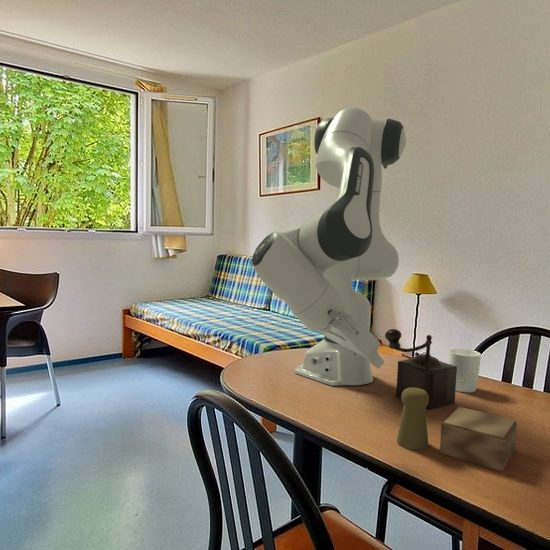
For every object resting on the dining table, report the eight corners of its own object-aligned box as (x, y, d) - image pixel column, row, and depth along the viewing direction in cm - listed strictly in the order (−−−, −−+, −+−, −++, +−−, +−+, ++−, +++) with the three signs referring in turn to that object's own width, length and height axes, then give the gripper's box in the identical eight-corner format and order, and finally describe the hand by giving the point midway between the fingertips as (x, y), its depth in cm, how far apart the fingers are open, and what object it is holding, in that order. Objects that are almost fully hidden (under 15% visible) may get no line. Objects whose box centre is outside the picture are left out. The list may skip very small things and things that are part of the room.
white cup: (459, 382, 134) (461, 347, 133) (484, 390, 127) (487, 354, 126) (441, 386, 130) (443, 350, 129) (466, 395, 123) (469, 357, 122)
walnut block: (439, 452, 90) (441, 422, 90) (456, 433, 99) (458, 405, 98) (502, 471, 84) (504, 438, 83) (514, 449, 92) (517, 419, 92)
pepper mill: (420, 389, 126) (424, 323, 125) (456, 403, 117) (460, 331, 115) (378, 399, 118) (381, 328, 117) (412, 414, 109) (416, 337, 107)
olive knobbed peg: (433, 450, 91) (437, 394, 90) (402, 450, 91) (406, 394, 90) (421, 436, 97) (424, 384, 96) (392, 436, 97) (395, 384, 96)
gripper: (355, 301, 78) (407, 358, 80) (315, 291, 97) (358, 337, 100) (328, 329, 77) (382, 386, 79) (294, 313, 97) (338, 359, 99)
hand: (368, 358), depth 90 cm, fingers open, 8 cm apart
